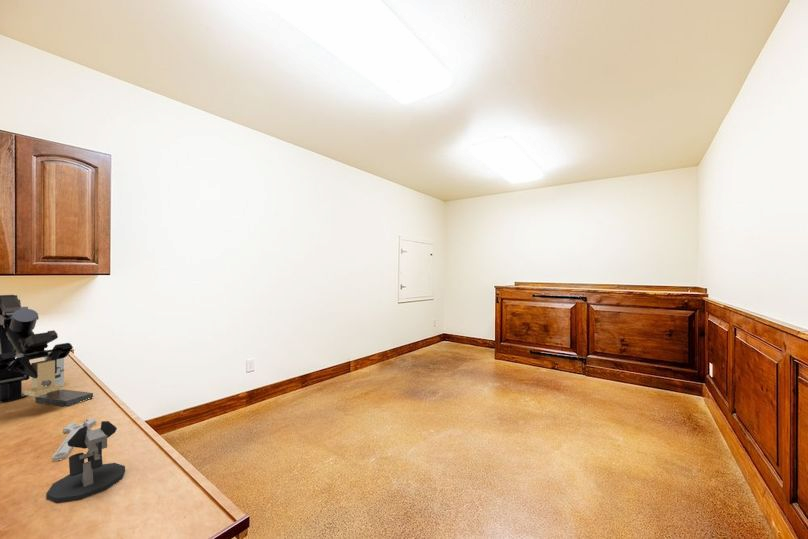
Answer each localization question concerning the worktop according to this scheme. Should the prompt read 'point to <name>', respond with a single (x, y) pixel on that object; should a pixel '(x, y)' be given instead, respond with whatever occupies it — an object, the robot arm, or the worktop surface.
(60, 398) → the brushed steel slab
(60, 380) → the ink box
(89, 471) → the gun turret
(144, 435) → the worktop surface
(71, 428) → the adjustable wrench
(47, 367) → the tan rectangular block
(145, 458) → the worktop surface
